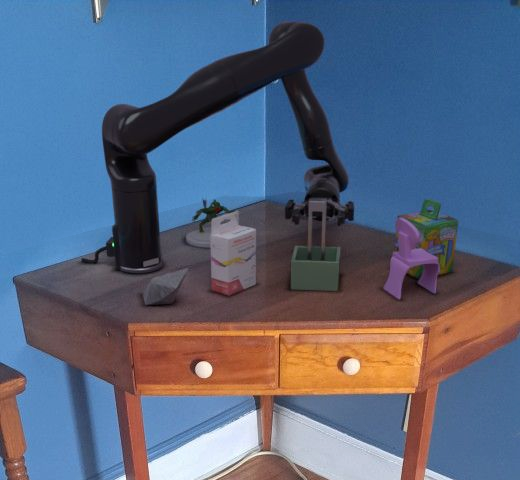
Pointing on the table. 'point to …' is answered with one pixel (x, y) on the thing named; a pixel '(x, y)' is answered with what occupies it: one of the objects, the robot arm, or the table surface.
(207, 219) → the monster figurine
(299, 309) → the table surface
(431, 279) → the toy chair
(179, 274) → the grey faceted pointed rock
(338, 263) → the holder
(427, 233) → the chalk box
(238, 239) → the ink cartridge box
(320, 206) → the tall two-post stand
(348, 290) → the table surface
